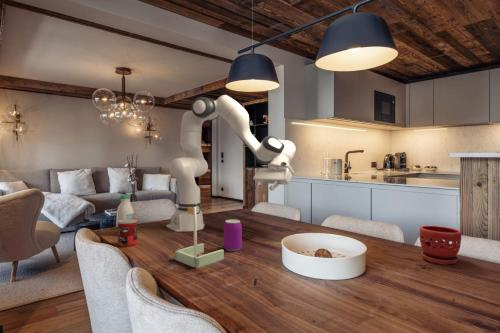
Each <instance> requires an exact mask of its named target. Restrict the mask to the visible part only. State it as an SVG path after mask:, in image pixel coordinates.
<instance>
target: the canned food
mask: <svg viewBox="0 0 500 333" xmlns="http://www.w3.org/2000/svg"><path fill="white" fill-rule="evenodd" d="M117 237H118V238H117V242H118V243H117V244H118V246H119V247H120V248H128V247H129V248H130V247H134V246H136V245H137V244H138V221H137V219H136V218H134V219H124V220H120V221H118V220H117Z"/></svg>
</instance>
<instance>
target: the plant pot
mask: <svg viewBox="0 0 500 333" xmlns="http://www.w3.org/2000/svg"><path fill="white" fill-rule="evenodd" d="M450 242H451V243H450ZM419 243H420V247H421V249H422V252H421V254H420V255H421V257H422V258H423V259H424V260H426V261H428V262H430V263H433V264H437V263H438V264H437V265H453V264H456V263H457V262H458V261H459V257H457V255H458V253H459V252H460V248H461V244H462V231H461V230H459V229H455V228H453V227H449V226H448V227H447V226H439V225H438V226H437V225H422V226H420V227H419Z"/></svg>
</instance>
